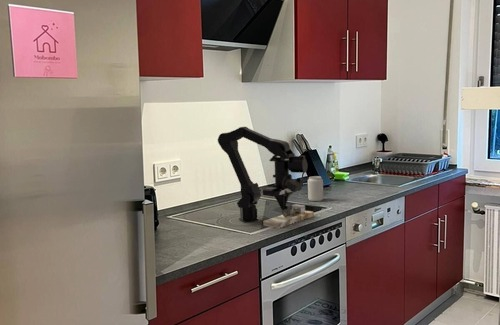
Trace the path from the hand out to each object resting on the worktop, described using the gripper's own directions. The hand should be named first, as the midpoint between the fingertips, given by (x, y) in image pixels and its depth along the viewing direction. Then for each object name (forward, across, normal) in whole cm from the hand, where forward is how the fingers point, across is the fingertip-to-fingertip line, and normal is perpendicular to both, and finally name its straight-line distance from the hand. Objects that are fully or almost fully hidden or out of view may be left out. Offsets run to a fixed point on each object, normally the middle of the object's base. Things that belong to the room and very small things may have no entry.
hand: (283, 209), depth 202 cm
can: (+6, +45, +15) cm, 48 cm away
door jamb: (+6, +4, 0) cm, 7 cm away
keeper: (+3, +10, 0) cm, 11 cm away
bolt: (+3, +6, 0) cm, 7 cm away
